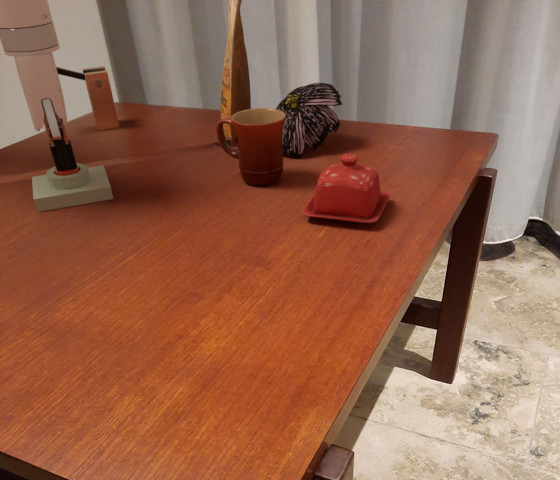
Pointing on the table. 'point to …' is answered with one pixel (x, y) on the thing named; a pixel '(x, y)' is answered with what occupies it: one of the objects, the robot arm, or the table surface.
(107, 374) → the table surface
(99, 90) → the bracket
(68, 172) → the button
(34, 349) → the table surface
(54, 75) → the robot arm
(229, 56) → the pancake mix bag
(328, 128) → the decorative flower
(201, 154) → the table surface
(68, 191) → the button housing
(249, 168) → the mug
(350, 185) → the butter dish
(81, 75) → the lever
